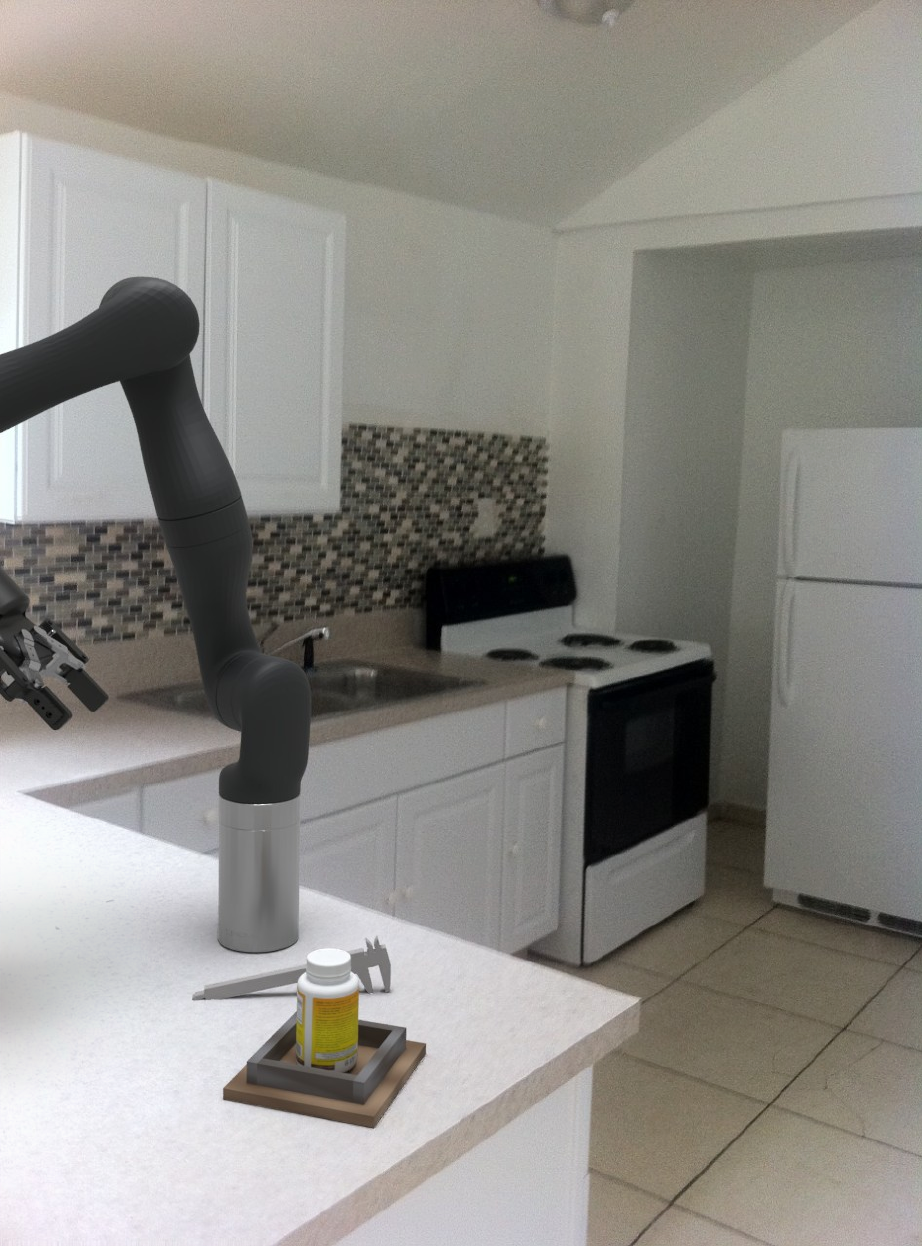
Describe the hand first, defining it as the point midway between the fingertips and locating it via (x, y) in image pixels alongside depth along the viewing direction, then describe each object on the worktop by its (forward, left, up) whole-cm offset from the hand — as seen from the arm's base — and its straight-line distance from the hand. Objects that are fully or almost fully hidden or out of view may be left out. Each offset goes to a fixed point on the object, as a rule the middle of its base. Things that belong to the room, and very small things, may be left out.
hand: (84, 714), depth 119 cm
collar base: (+2, +26, -31) cm, 41 cm away
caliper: (-12, +16, -31) cm, 37 cm away
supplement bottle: (+2, +26, -30) cm, 40 cm away
